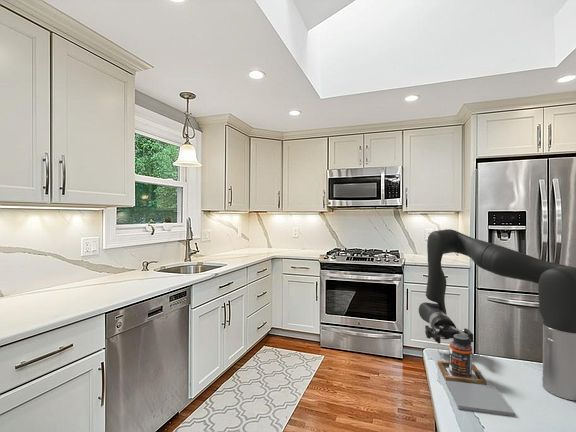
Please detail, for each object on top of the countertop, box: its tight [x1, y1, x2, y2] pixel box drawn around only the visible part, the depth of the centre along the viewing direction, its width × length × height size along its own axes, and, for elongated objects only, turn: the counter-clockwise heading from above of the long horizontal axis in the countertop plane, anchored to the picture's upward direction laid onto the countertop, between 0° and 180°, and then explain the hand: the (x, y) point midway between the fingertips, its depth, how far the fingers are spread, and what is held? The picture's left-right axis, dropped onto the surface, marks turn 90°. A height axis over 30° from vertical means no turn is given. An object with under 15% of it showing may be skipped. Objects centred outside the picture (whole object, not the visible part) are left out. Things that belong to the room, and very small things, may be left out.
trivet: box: [445, 381, 515, 417], centre depth 82 cm, size 12×12×1 cm
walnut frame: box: [436, 360, 488, 385], centre depth 94 cm, size 10×10×1 cm
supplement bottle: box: [448, 334, 473, 378], centre depth 94 cm, size 6×6×11 cm
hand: (453, 341), depth 101 cm, fingers open, 8 cm apart
